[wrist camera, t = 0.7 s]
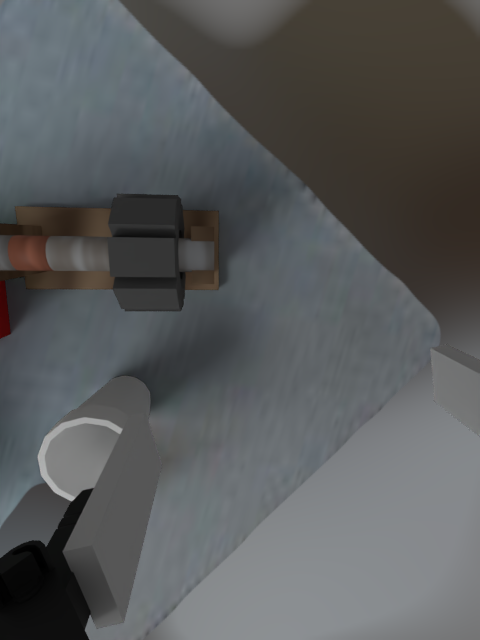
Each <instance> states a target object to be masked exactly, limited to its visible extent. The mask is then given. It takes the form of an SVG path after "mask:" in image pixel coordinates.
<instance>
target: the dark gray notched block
mask: <svg viewBox="0 0 480 640" xmlns="http://www.w3.org/2000/svg"><path fill="white" fill-rule="evenodd" d="M108 226H109V229H110V231H111V234H112V237H107V242H108V255H109V268H110V277H115V279H114V284H113V290H114V293H115V295H116V297H117V300H118V302H119V304H120V307H121V309H125V311H181V310H182V307H183V305H184V297H185V279H186V275H185V272H179V258H178V241H179V238H184V229H185V227H184V218H183V208H182V205H181V199H180V197H179V196H178V195H147V194H117V198H114V199H113V203H112V208H111V212H110V216H109V221H108Z"/></svg>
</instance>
